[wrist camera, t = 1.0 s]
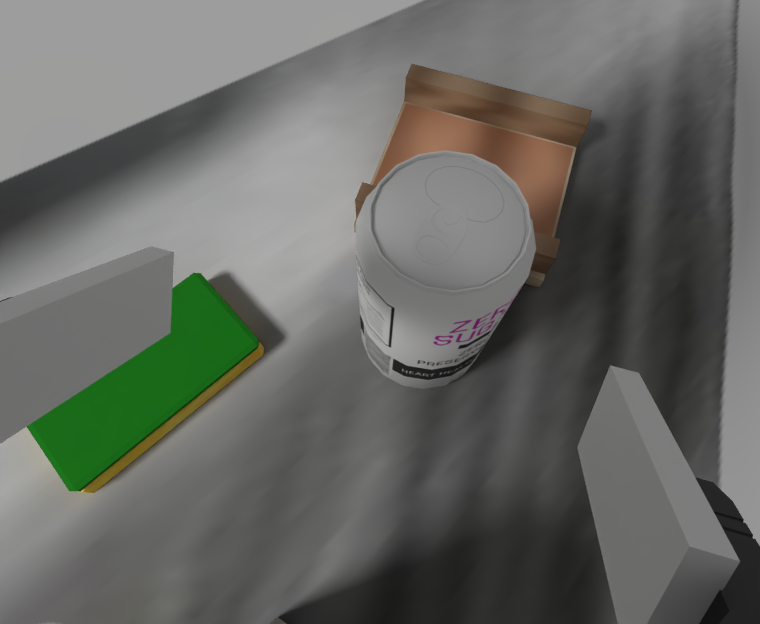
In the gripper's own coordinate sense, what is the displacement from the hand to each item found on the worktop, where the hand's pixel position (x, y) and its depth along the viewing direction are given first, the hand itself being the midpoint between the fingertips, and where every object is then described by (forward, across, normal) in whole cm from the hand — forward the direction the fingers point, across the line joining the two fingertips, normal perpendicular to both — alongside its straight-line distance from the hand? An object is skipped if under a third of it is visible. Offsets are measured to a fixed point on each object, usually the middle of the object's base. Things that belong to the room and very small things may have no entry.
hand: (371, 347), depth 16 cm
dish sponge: (+14, -16, -14) cm, 25 cm away
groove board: (+29, +1, +2) cm, 29 cm away
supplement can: (+20, 0, -8) cm, 21 cm away
